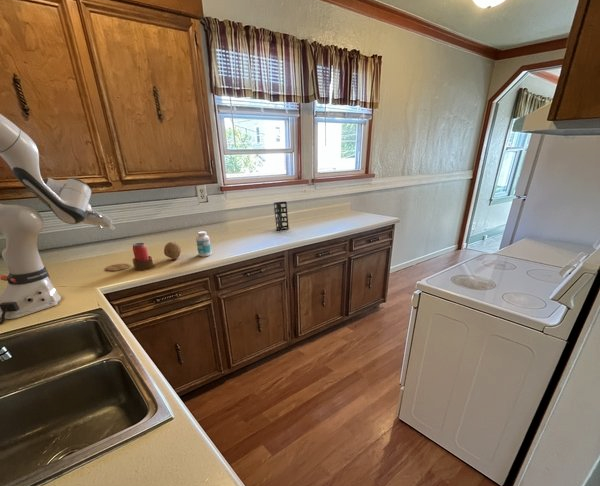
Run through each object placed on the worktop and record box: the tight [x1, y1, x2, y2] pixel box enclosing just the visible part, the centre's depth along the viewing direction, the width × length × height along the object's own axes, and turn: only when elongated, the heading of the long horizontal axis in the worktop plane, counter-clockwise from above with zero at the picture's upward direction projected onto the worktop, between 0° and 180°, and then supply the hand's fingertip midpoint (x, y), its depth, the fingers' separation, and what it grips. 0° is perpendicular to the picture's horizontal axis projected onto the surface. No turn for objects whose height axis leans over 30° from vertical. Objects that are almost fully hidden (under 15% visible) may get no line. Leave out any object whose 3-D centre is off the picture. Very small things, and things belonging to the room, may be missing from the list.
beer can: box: [132, 242, 149, 261], centre depth 172 cm, size 7×7×12 cm
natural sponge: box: [163, 241, 182, 260], centre depth 184 cm, size 9×9×10 cm
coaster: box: [105, 263, 130, 272], centre depth 175 cm, size 11×11×1 cm
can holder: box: [131, 255, 155, 271], centre depth 174 cm, size 9×9×5 cm
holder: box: [273, 201, 289, 231], centre depth 249 cm, size 11×8×20 cm
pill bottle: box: [195, 230, 212, 257], centre depth 191 cm, size 8×7×14 cm
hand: (108, 228), depth 153 cm, fingers open, 8 cm apart
